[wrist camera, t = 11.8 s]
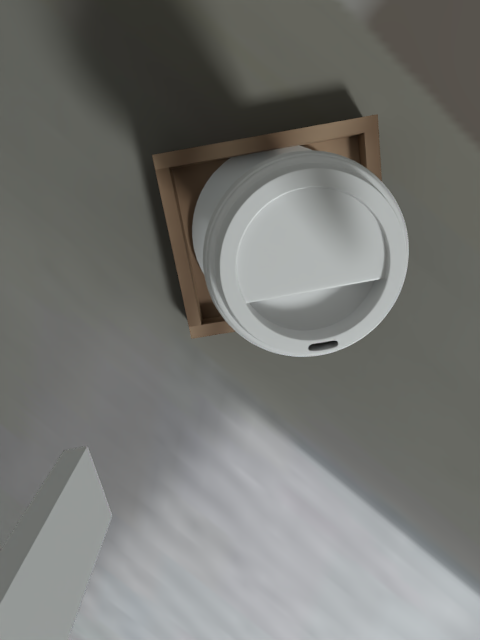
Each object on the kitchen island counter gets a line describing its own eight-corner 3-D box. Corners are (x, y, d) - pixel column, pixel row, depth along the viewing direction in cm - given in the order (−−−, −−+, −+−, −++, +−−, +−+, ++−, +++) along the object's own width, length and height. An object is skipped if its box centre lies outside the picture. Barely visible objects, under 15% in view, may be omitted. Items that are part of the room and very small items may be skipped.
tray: (194, 327, 36) (191, 338, 33) (158, 158, 32) (151, 155, 29) (377, 297, 35) (389, 306, 33) (365, 121, 31) (377, 114, 29)
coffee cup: (204, 282, 33) (181, 350, 18) (228, 155, 30) (224, 119, 16) (320, 306, 33) (386, 389, 19) (354, 184, 31) (460, 175, 16)
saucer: (209, 323, 35) (209, 326, 34) (177, 160, 31) (175, 159, 30) (364, 298, 34) (367, 300, 33) (350, 129, 30) (353, 127, 30)
